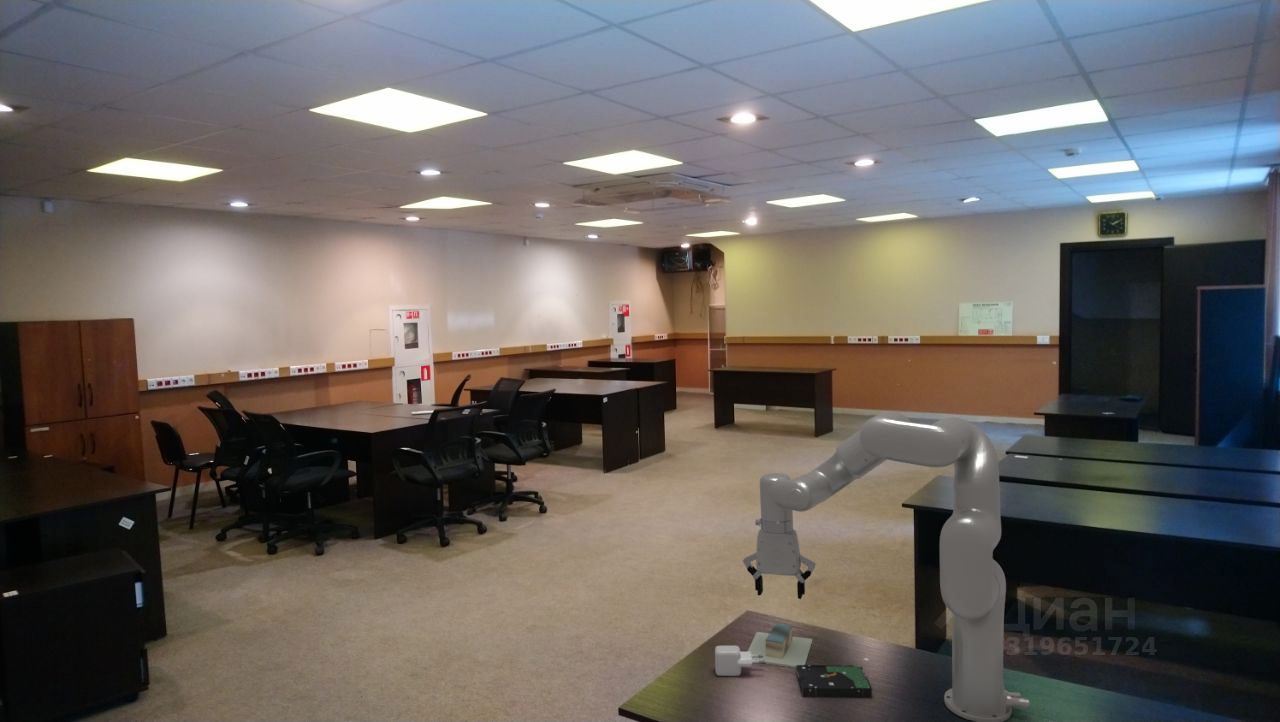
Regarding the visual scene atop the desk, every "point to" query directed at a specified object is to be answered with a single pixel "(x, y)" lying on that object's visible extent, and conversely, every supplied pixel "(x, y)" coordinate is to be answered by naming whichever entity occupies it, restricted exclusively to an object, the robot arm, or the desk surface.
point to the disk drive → (833, 681)
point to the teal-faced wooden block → (779, 640)
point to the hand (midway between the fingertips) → (780, 595)
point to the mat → (793, 656)
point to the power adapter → (733, 660)
